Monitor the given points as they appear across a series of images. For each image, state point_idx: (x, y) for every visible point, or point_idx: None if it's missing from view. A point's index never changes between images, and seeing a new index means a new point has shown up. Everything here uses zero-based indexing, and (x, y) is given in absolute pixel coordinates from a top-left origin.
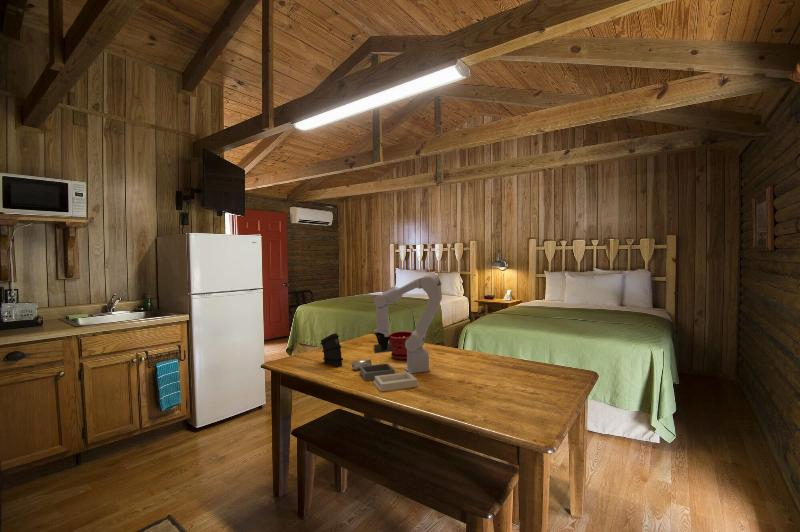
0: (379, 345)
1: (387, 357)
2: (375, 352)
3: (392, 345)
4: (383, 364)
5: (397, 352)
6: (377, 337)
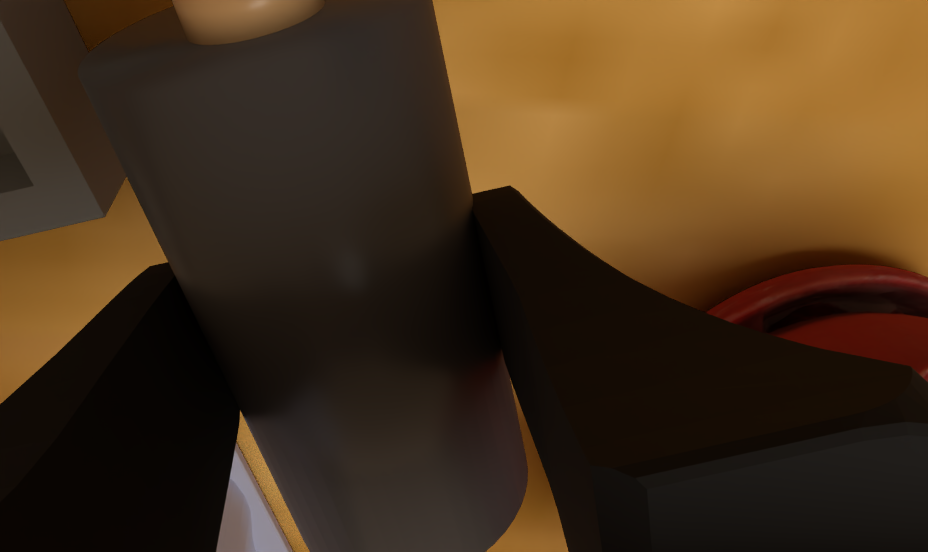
0: (212, 269)
1: (879, 182)
2: (145, 18)
3: None
4: (6, 129)
5: None
6: (555, 387)
